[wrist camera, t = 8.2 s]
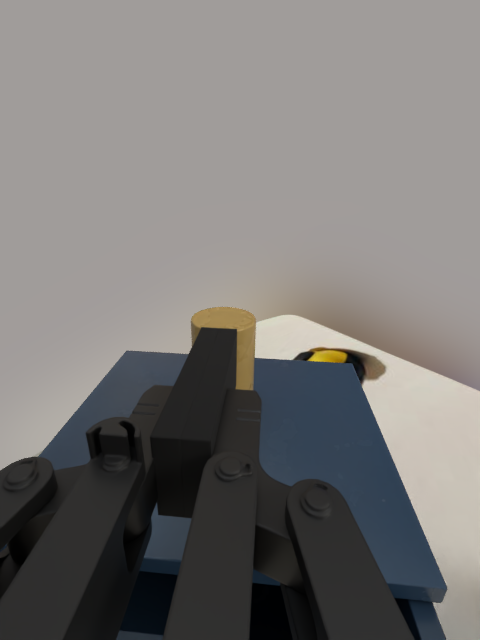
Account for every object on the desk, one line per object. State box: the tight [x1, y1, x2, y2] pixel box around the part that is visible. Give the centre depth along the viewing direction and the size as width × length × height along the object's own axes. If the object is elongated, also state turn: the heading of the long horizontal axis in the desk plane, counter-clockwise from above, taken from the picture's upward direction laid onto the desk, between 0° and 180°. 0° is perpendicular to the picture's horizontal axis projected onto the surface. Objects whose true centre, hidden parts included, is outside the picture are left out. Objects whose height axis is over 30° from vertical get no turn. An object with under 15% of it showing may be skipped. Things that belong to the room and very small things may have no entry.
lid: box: [0, 307, 447, 603], centre depth 17 cm, size 16×14×7 cm
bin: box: [116, 571, 446, 640], centre depth 18 cm, size 16×14×9 cm
